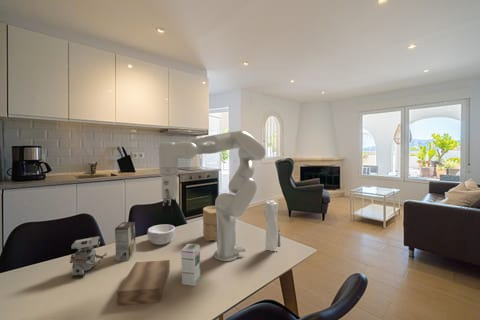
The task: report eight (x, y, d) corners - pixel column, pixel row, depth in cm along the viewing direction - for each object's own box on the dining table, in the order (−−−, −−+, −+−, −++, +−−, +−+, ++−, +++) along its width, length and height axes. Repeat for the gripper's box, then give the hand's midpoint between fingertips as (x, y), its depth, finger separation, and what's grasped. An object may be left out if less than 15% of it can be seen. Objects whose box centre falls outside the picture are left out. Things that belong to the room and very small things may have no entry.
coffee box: (123, 252, 116) (122, 221, 116) (136, 251, 117) (135, 221, 116) (115, 261, 107) (114, 228, 106) (129, 260, 108) (128, 227, 107)
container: (225, 240, 132) (225, 210, 131) (204, 242, 128) (204, 212, 127) (221, 232, 144) (221, 205, 143) (201, 234, 140) (201, 206, 139)
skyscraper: (278, 254, 115) (279, 200, 114) (263, 251, 118) (263, 199, 116) (280, 247, 123) (281, 197, 122) (266, 245, 126) (266, 196, 124)
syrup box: (195, 286, 88) (194, 250, 87) (181, 284, 89) (180, 248, 88) (200, 278, 93) (200, 244, 93) (187, 276, 94) (187, 242, 94)
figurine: (98, 276, 94) (97, 242, 93) (67, 279, 92) (66, 243, 92) (107, 265, 103) (106, 233, 102) (80, 267, 101) (78, 235, 101)
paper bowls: (180, 240, 132) (180, 226, 132) (159, 249, 119) (159, 235, 119) (163, 234, 140) (163, 222, 140) (142, 243, 128) (141, 229, 127)
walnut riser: (169, 271, 99) (169, 260, 98) (159, 301, 79) (159, 288, 79) (136, 273, 97) (136, 262, 96) (117, 305, 77) (117, 291, 77)
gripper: (173, 173, 85) (175, 217, 86) (181, 169, 103) (182, 205, 104) (153, 174, 85) (155, 218, 86) (164, 169, 102) (166, 206, 103)
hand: (170, 211), depth 95 cm, fingers open, 9 cm apart
